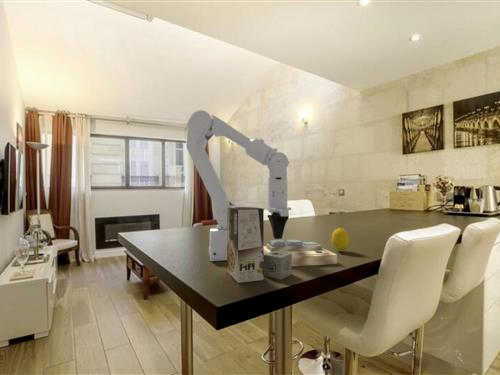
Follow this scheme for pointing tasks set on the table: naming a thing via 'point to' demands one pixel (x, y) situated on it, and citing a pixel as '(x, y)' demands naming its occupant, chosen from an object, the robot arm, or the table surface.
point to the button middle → (293, 243)
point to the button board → (306, 254)
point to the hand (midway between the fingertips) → (277, 238)
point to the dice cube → (277, 264)
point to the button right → (309, 243)
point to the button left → (278, 243)
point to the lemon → (340, 239)
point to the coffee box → (245, 243)
